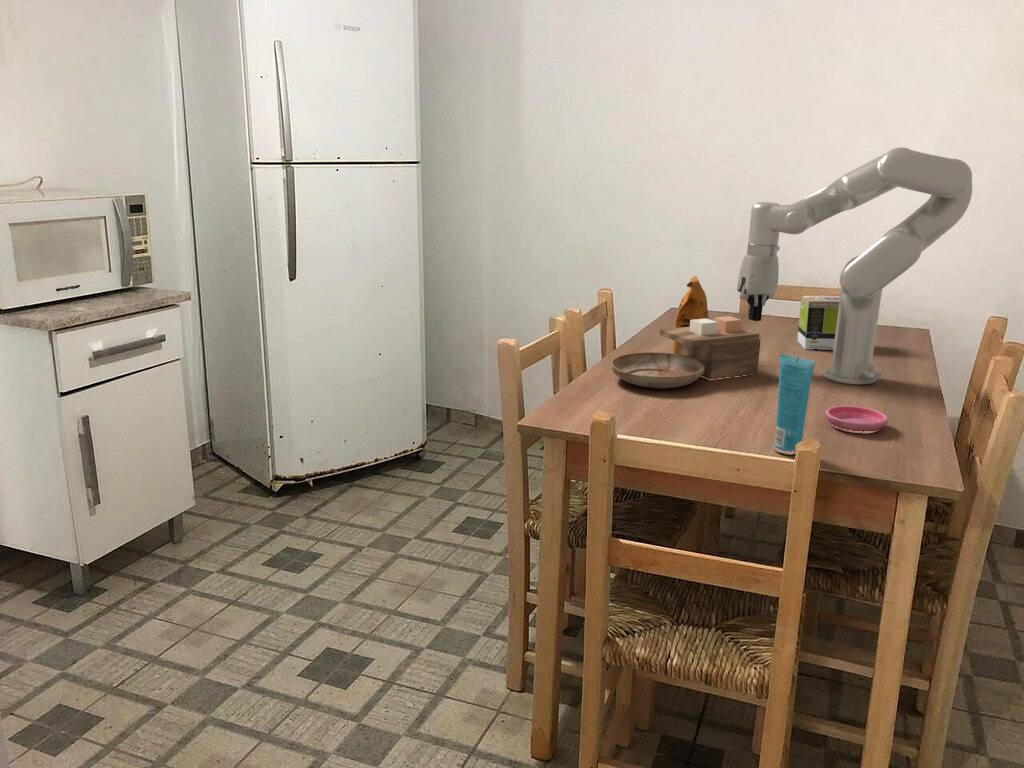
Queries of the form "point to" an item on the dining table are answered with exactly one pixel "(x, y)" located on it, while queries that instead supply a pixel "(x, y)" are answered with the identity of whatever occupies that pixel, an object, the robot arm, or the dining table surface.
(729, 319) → the peach clay cube
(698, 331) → the white square block
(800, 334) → the tea box
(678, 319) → the coffee package
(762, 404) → the dining table surface
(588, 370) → the dining table surface
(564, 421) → the dining table surface
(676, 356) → the ceramic bowl
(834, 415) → the saucer
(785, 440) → the tube
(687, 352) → the wooden box
